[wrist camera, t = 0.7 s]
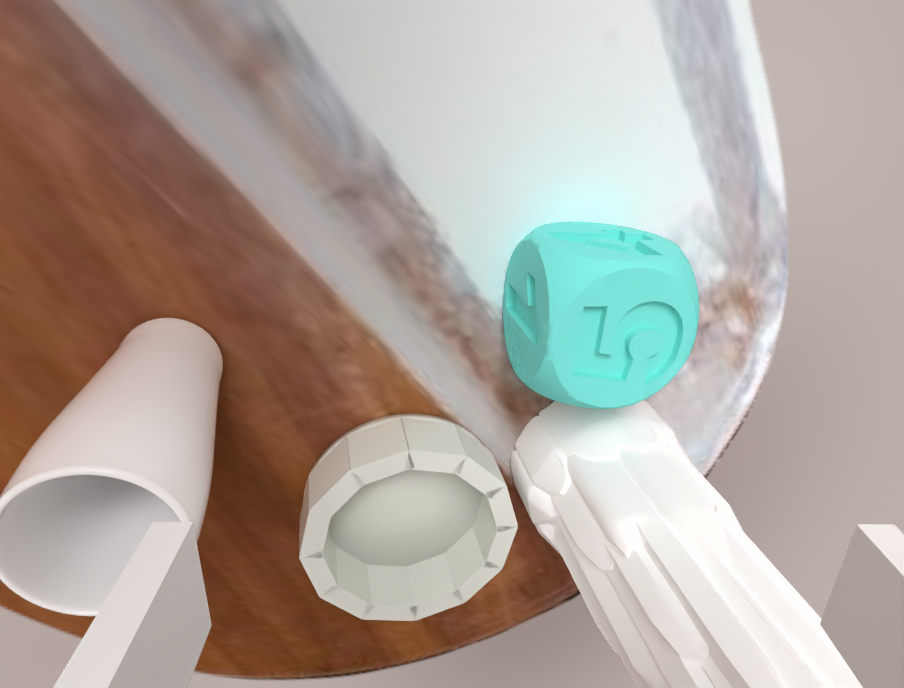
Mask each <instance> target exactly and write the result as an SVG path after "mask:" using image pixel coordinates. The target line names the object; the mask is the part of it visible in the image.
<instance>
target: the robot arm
mask: <svg viewBox="0 0 904 688" xmlns="http://www.w3.org/2000/svg"><path fill="white" fill-rule="evenodd" d="M820 625H821V627H822V628H823V629H824V631H825V632H826V634H827V635H828V637H829V638H830V640H831V641H832V643H833V644H834V646H835V647H836V649H837V650H838V652H839V653H840V655H841V656H842V658H843V659H844V660H845V662H846V663H847V665H848V666H849V668H850V669H851V671H852V672H853V674H854V675H855V677H856V678H857V680H858V681H859V683H860V684H861V686H862V687H863V688H904V534H903V533H902V532H901V531H900V530H899V529H898V528H897V527H896V526H895V525H887V524H885V525H882V524H880V525H879V524H878V525H876V524H869V525H868V524H866V525H865V524H857V525H856V528H855V531H854V533H853V536H852V539H851V542H850V544H849V547H848V550H847V552H846V555H845V558H844V560H843V564H842V566H841V569H840V571H839V574H838V577H837V579H836V582H835V585H834V587H833V590H832V593H831V596H830V598H829V601H828V604H827V606H826V609H825V612H824V614H823V617H822V620H821V622H820ZM211 626H212V625H211V619H210V614H209V608H208V603H207V597H206V592H205V586H204V581H203V575H202V570H201V564H200V559H199V553H198V548H197V542H196V537H195V531H194V526H193V522H152V524H151V525H150V527H149V529H148V530H147V532H146V534H145V535H144V537H143V539H142V540H141V542H140V544H139V545H138V547H137V549H136V550H135V552H134V554H133V555H132V557H131V559H130V560H129V562H128V564H127V565H126V567H125V569H124V570H123V572H122V574H121V575H120V577H119V579H118V580H117V582H116V584H115V585H114V587H113V589H112V590H111V592H110V594H109V595H108V597H107V599H106V600H105V602H104V604H103V605H102V607H101V609H100V610H99V612H98V614H97V615H96V617H95V619H94V620H93V622H92V624H91V625H90V627H89V629H88V630H87V632H86V634H85V635H84V637H83V639H82V640H81V642H80V644H79V645H78V647H77V649H76V650H75V652H74V654H73V655H72V657H71V659H70V661H69V662H68V664H67V665H66V667H65V669H64V671H63V672H62V674H61V676H60V677H59V679H58V680H57V682H56V684H55V686H54V687H53V688H188V685H189V682H190V680H191V677H192V675H193V672H194V670H195V667H196V664H197V662H198V659H199V657H200V654H201V651H202V649H203V646H204V644H205V641H206V639H207V636H208V633H209V631H210V628H211Z"/></svg>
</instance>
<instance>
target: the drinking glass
mask: <svg viewBox="0 0 904 688" xmlns="http://www.w3.org/2000/svg"><path fill="white" fill-rule="evenodd" d="M222 372H223V359H222V354H221V351H220V349H219V347H218V345H217V343H216V342H215V340H214V339H213V338H212V336H211V335H210V334H209V333H207V332H206V331H205V330H204V329H202V328H201V327H199V326H198V325H196V324H194V323H192V322H189V321H186V320H183V319H178V318H158V319H153V320H150V321H147V322H144V323H142V324H140V325H139V326H137V327H136V328H134V329H133V330H132V331H130V332H129V333H128V335H127V336H126V337H125V338H124V340H123V341H122V342H121V344H120V346H119V347H118V349H117V350H116V351H115V353H114V354H113V355H112V356H111V357H110V358H109V359H108V361H107V362H106V363H105V364H104V365H103V366H102V367H101V368H100V369H99V371H98V372H97V373H96V374H95V375H94V376H93V377H92V378H91V379H90V381H89V382H88V383H87V384H86V385H85V386H84V387H83V388H82V389H81V390H80V392H79V393H78V394H77V395H76V396H75V397H74V398H73V399H72V400H71V401H70V402H69V404H68V405H67V406H66V407H65V408H64V409H63V410H62V411H61V412H60V413H59V414H58V416H57V417H56V418H55V419H54V420H53V421H52V422H51V423H50V424H49V426H48V427H47V428H46V429H45V430H44V432H43V433H42V434H41V435H40V436H39V438H38V439H37V440H36V442H35V443H34V444H33V446H32V447H31V448H30V450H29V451H28V453H27V454H26V455H25V457H24V458H23V460H22V461H21V463H20V464H19V466H18V467H17V469H16V470H15V472H14V473H13V475H12V476H11V478H10V480H9V481H8V483H7V485H6V487H5V488H4V490H3V492H2V494H1V495H0V580H1V581H2V582H3V583H4V584H5V585H6V586H7V587H8V588H10V589H11V590H12V591H13V592H15V593H16V594H17V595H19V596H21V597H22V598H24V599H26V600H27V601H29V602H31V603H33V604H36V605H38V606H40V607H43V608H46V609H49V610H52V611H56V612H60V613H64V614H70V615H78V616H96V615H97V614H98V612H99V610H100V609H101V607H102V605H103V604H104V602H105V600H106V599H107V597H108V595H109V594H110V592H111V590H112V589H113V587H114V585H115V584H116V582H117V580H118V579H119V577H120V575H121V574H122V572H123V570H124V569H125V567H126V565H127V564H128V562H129V560H130V559H131V557H132V555H133V554H134V552H135V550H136V549H137V547H138V545H139V544H140V542H141V540H142V539H143V537H144V535H145V534H146V532H147V530H148V529H149V527H150V525H151V524H152V522H193V526H194V531H195V537H196V542H198V539H199V536H200V532H201V529H202V525H203V521H204V517H205V513H206V508H207V504H208V499H209V494H210V488H211V480H212V471H213V460H214V446H215V431H216V418H217V405H218V394H219V385H220V381H221V377H222Z"/></svg>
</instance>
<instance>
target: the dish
mask: <svg viewBox="0 0 904 688" xmlns="http://www.w3.org/2000/svg"><path fill="white" fill-rule="evenodd" d="M517 528H518V524H517V521H516V517H515V514H514V510H513V506H512V503H511V499H510V496H509V492H508V489H507V485H506V483H505V481H504V479H503V477H502V474H501V472H500V470H499V468H498V465H497V463H496V461H495V459H494V457H493V454H492V453H491V451H490V450H488V449H487V448H486V447H485V446H484V445H483V443H482V442H481V441H480V440H479V439H478V438H477V437H476V436H475V435H474V434H473V433H472V432H471V431H469V430H468V429H466V428H465V427H463V426H462V425H460V424H457V423H455V422H453V421H451V420H448V419H445V418H442V417H439V416H434V415H429V414H419V413H405V414H395V415H389V416H384V417H380V418H377V419H373V420H371V421H368V422H366V423H363V424H361V425H359V426H357V427H355V428H353V429H351V430H349V431H348V432H346V433H345V434H343V435H342V436H340V437H339V438H338V439H336V440H335V441H334V442H333V443H332V444H331V445H330V446H329V447H327V449H326V450H325V451H324V452H323V453H322V454H321V455H320V457H319V458H318V460H317V461H316V463H315V464H314V466H313V467H312V469H311V471H310V474H309V476H308V478H307V481H306V485H305V488H304V495H303V505H302V510H301V514H300V533H299V559H300V561H301V563H302V565H303V567H304V568H305V570H306V572H307V574H308V576H309V578H310V580H311V582H312V584H313V586H314V588H315V590H316V592H317V593H318V595H319V597H320V598H322V599H324V600H326V601H327V602H329V603H331V604H333V605H335V606H337V607H339V608H341V609H343V610H345V611H347V612H349V613H350V614H352V615H354V616H356V617H358V618H360V619H363V620H395V621H414V620H415V621H416V620H419V619H422V618H424V617H427V616H430V615H433V614H435V613H438V612H441V611H444V610H446V609H449V608H452V607H455V606H457V605H460V604H463V603H464V602H466V601H467V600H469V599H470V598H471V597H472V596H473V595H474V594H475V593H476V592H477V591H479V590H480V589H481V588H482V587H483V586H484V585H485V584H486V583H487V582H489V581H490V580H491V579H492V578H493V577H494V576H495V575H496V574H497V573H499V572H500V571H501V570H502V569H503V566H504V563H505V561H506V558H507V555H508V553H509V550H510V547H511V545H512V542H513V539H514V536H515V534H516V531H517Z"/></svg>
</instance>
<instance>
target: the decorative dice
mask: <svg viewBox="0 0 904 688" xmlns="http://www.w3.org/2000/svg"><path fill="white" fill-rule="evenodd" d="M698 320H699V297H698V289H697V284H696V280H695V276H694V273H693V270H692V268H691V265H690V263H689V261H688V260H687V258H686V256H685V255H684V254H683V252H682V251H681V249H680V248H679V247H678V246H677V245H676V244H675V243H673V242H672V241H670V240H668V239H666V238H663V237H661V236H658V235H655V234H652V233H649V232H645V231H641V230H637V229H633V228H628V227H622V226H616V225H609V224H600V223H588V222H560V223H551V224H546V225H542V226H539V227H537V228H536V229H535V230H533V231H532V232H531V233H530V234H529V235H527V236H526V237H525V238H524V239H523V240H522V241H521V242H520V243H519V244H518V245H517V247H516V248H515V250H514V252H513V254H512V256H511V259H510V262H509V265H508V269H507V274H506V280H505V287H504V299H503V322H504V334H505V342H506V347H507V352H508V356H509V359H510V363H511V365H512V368H513V370H514V372H515V374H516V375H517V377H518V378H519V379H520V380H521V381H522V382H523V383H524V384H525V385H526V386H528V387H529V388H530V389H532V390H533V391H535V392H537V393H538V394H540V395H542V396H544V397H547V398H549V399H552V400H554V401H557V402H561V403H564V404H568V405H572V406H577V407H583V408H592V409H615V408H622V407H627V406H631V405H634V404H636V403H638V402H640V401H642V400H645V399H647V398H648V397H650V396H652V395H653V394H655V393H656V392H658V391H659V390H660V389H662V388H663V387H664V386H665V385H666V384H668V383H669V382H670V381H671V380H672V379H673V377H674V376H675V375H676V374H677V373H678V371H679V370H680V369H681V367H682V366H683V365H684V363H685V362H686V360H687V358H688V357H689V355H690V352H691V350H692V348H693V345H694V342H695V338H696V334H697V328H698Z"/></svg>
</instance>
